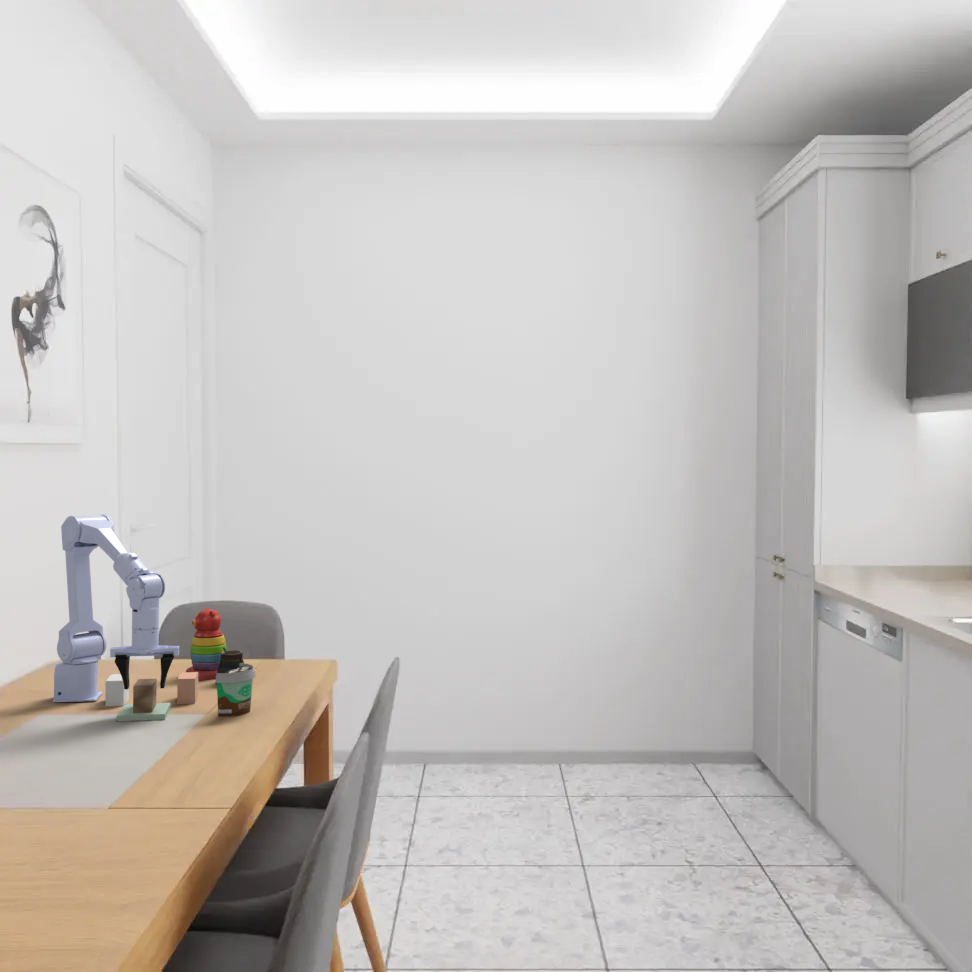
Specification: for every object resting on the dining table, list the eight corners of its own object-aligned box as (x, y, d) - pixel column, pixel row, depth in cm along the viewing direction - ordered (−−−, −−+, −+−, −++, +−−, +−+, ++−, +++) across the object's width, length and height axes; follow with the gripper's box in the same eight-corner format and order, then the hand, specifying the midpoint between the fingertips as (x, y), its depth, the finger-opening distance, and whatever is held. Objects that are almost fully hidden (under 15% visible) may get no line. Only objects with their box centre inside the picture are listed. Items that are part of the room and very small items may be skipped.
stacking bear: (184, 672, 251) (185, 607, 251) (222, 669, 256) (223, 605, 255) (189, 681, 242) (190, 613, 241) (229, 678, 246) (230, 611, 245)
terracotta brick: (177, 704, 219) (177, 678, 219) (180, 696, 226) (181, 672, 226) (194, 703, 220) (195, 678, 220) (198, 696, 227) (198, 672, 226)
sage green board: (117, 721, 203) (117, 715, 203) (125, 709, 213) (125, 704, 213) (164, 719, 205) (164, 714, 205) (170, 707, 215) (170, 702, 215)
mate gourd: (250, 679, 245) (250, 641, 244) (239, 686, 237) (240, 647, 237) (223, 678, 245) (224, 640, 245) (212, 685, 238) (212, 646, 237)
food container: (240, 720, 206) (241, 675, 206) (215, 718, 207) (215, 673, 207) (264, 706, 218) (265, 663, 218) (240, 704, 219) (240, 662, 219)
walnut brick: (133, 713, 206) (133, 686, 206) (137, 705, 213) (138, 679, 212) (152, 712, 207) (152, 685, 206) (156, 704, 213) (156, 678, 213)
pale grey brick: (105, 706, 216) (105, 681, 216) (111, 699, 223) (111, 674, 222) (123, 706, 216) (123, 680, 216) (128, 698, 223) (129, 673, 223)
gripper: (107, 631, 204) (107, 693, 204) (176, 630, 206) (176, 691, 207) (113, 626, 210) (113, 685, 211) (180, 625, 213) (180, 683, 214)
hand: (144, 687), depth 209 cm, fingers open, 7 cm apart
